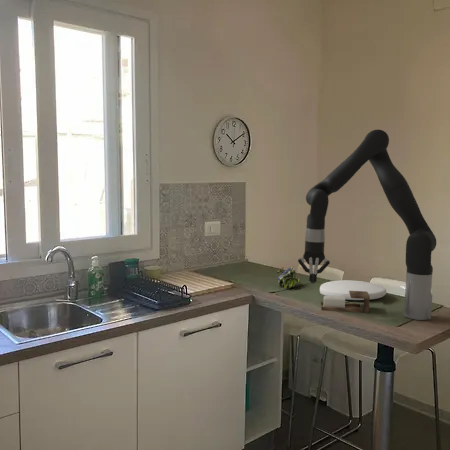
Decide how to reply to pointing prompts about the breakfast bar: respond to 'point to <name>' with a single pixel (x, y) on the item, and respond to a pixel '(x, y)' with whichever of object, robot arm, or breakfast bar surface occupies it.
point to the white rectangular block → (334, 301)
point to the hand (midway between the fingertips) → (312, 282)
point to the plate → (351, 289)
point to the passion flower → (288, 274)
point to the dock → (353, 306)
